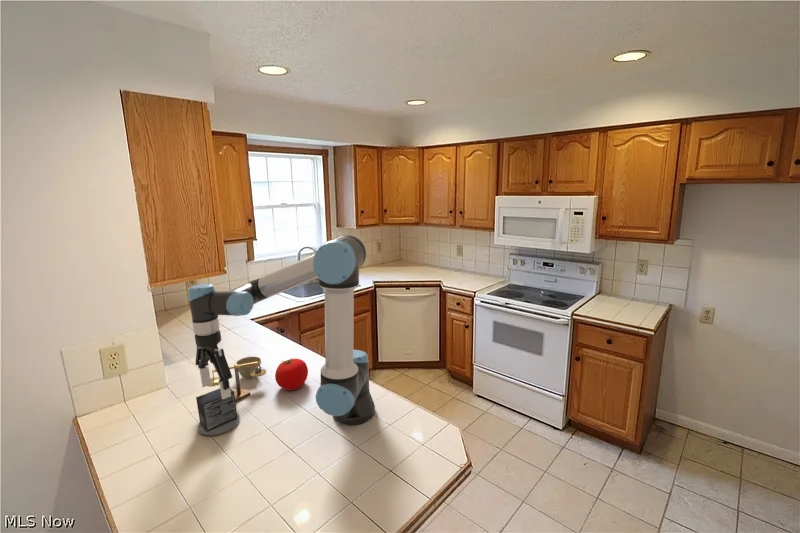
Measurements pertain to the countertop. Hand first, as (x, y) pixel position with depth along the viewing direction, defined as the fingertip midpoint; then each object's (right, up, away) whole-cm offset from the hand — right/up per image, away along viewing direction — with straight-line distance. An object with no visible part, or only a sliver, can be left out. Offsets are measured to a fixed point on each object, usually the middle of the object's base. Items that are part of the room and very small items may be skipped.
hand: (216, 391), depth 128 cm
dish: (0, -12, +3) cm, 13 cm away
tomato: (+18, -7, +27) cm, 33 cm away
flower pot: (-3, -6, +36) cm, 36 cm away
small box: (0, -11, +3) cm, 12 cm away
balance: (-1, -9, +21) cm, 22 cm away
